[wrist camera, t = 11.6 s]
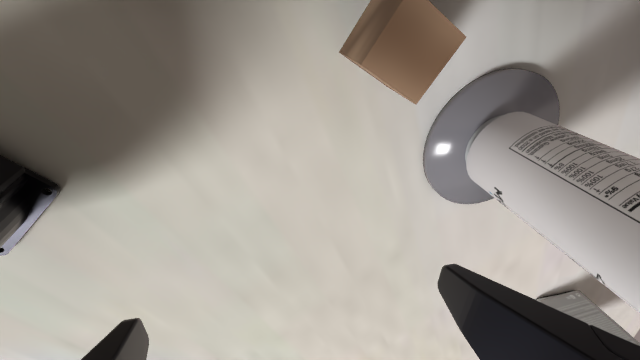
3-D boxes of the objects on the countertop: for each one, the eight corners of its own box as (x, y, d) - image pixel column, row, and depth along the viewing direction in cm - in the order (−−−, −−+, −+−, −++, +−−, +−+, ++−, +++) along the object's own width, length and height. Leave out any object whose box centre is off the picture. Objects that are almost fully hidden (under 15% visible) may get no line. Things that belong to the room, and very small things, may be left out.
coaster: (461, 220, 28) (465, 224, 28) (396, 146, 23) (400, 150, 22) (568, 137, 26) (574, 140, 26) (525, 32, 21) (532, 33, 20)
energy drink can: (446, 177, 25) (665, 369, 12) (479, 102, 22) (807, 250, 9) (507, 181, 26) (754, 353, 14) (544, 112, 23) (897, 248, 11)
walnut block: (386, 86, 20) (415, 104, 17) (338, 52, 19) (360, 65, 15) (426, 29, 19) (466, 36, 16) (378, -14, 17) (412, -15, 14)
